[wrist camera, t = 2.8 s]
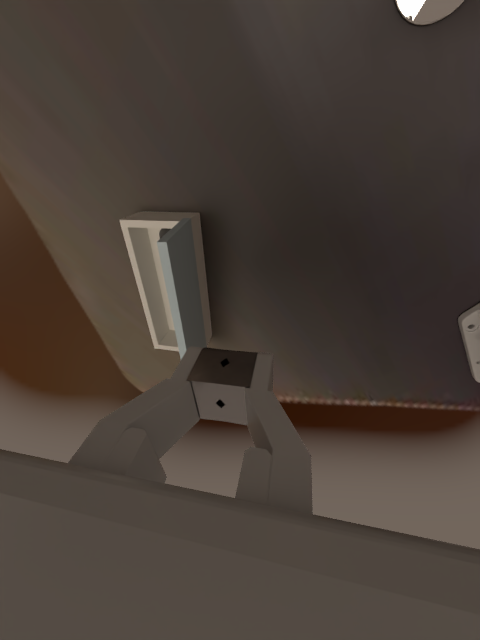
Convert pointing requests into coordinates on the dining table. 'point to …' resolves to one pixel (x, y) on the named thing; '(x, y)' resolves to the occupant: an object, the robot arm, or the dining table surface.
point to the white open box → (161, 271)
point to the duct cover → (182, 285)
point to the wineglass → (426, 10)
